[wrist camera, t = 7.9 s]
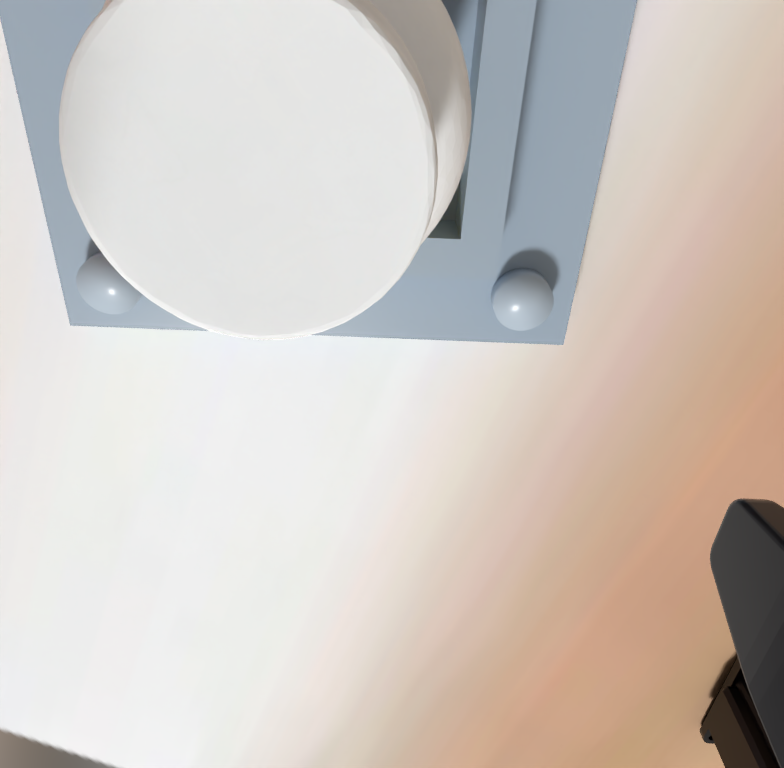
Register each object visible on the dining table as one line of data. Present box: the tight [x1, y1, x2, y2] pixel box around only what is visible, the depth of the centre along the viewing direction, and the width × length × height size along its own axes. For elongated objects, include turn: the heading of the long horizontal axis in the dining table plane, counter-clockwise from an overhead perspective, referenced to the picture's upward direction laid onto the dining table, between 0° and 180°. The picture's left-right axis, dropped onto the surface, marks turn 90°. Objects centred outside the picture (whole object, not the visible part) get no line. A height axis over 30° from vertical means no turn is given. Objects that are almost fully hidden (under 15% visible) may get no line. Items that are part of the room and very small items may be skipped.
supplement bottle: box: [59, 0, 472, 340], centre depth 11 cm, size 5×5×10 cm
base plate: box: [0, 0, 637, 345], centre depth 15 cm, size 14×14×3 cm
